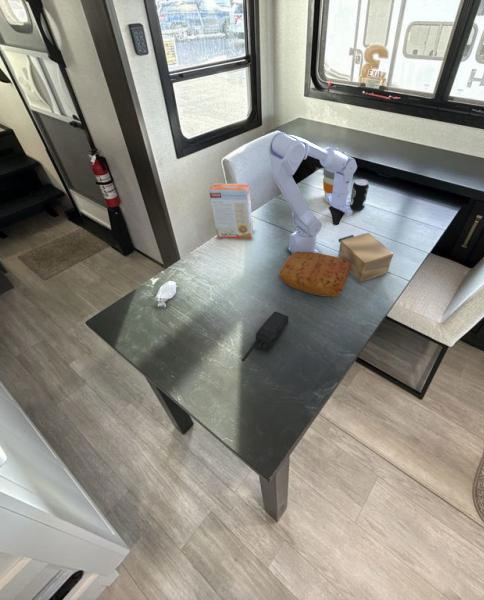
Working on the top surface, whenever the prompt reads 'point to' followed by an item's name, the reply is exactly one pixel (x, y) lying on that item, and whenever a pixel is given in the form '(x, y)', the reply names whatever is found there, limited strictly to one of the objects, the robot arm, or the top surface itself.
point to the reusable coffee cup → (328, 181)
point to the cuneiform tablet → (315, 273)
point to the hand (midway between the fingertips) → (335, 224)
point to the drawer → (345, 239)
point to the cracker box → (232, 210)
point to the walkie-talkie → (269, 332)
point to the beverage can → (359, 194)
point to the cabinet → (365, 256)
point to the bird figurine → (166, 292)
